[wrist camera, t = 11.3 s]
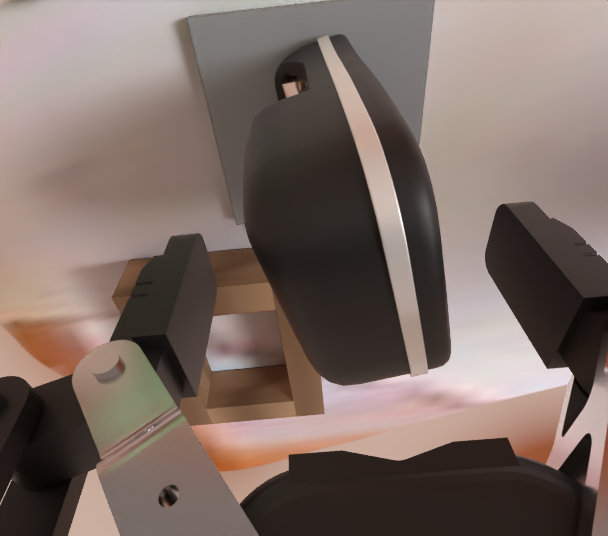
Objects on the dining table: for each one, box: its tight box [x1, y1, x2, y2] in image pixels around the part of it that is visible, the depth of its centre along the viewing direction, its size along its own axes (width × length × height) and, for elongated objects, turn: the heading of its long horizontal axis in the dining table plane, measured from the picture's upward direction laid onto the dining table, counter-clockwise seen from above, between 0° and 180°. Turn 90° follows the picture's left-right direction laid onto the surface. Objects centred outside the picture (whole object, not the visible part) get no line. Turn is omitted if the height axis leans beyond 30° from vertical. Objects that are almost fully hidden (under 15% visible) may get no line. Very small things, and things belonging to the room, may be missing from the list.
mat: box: [187, 0, 435, 225], centre depth 17 cm, size 9×9×1 cm
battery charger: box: [243, 34, 451, 386], centre depth 13 cm, size 7×4×11 cm, turn 17°
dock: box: [112, 248, 324, 426], centre depth 25 cm, size 10×13×3 cm
